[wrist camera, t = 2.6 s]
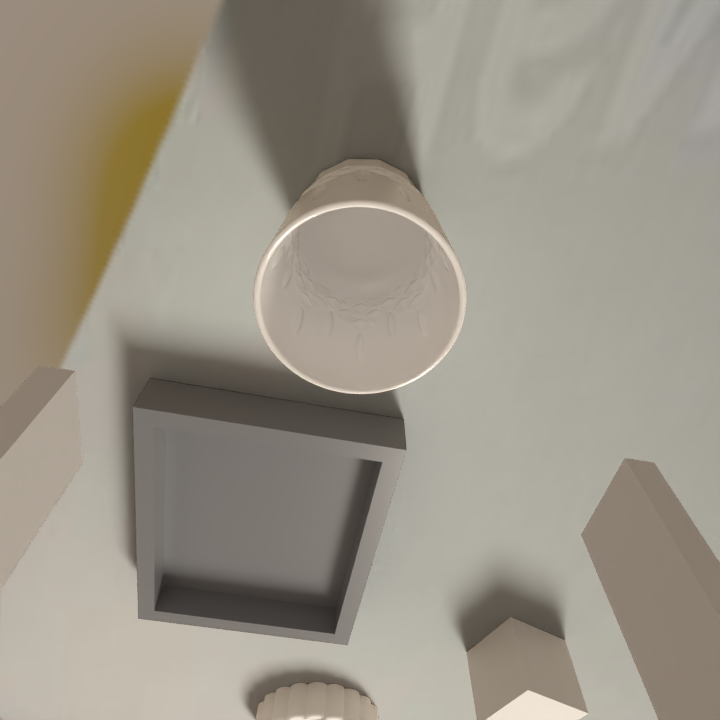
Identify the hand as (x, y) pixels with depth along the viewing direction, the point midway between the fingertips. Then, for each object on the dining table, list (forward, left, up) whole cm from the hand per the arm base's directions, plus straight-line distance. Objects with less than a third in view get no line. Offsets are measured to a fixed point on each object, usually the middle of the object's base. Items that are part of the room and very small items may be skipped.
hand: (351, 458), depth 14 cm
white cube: (+34, +20, -19) cm, 44 cm away
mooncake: (+49, +5, -19) cm, 53 cm away
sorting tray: (+22, -3, -18) cm, 29 cm away
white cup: (0, 0, -19) cm, 19 cm away
